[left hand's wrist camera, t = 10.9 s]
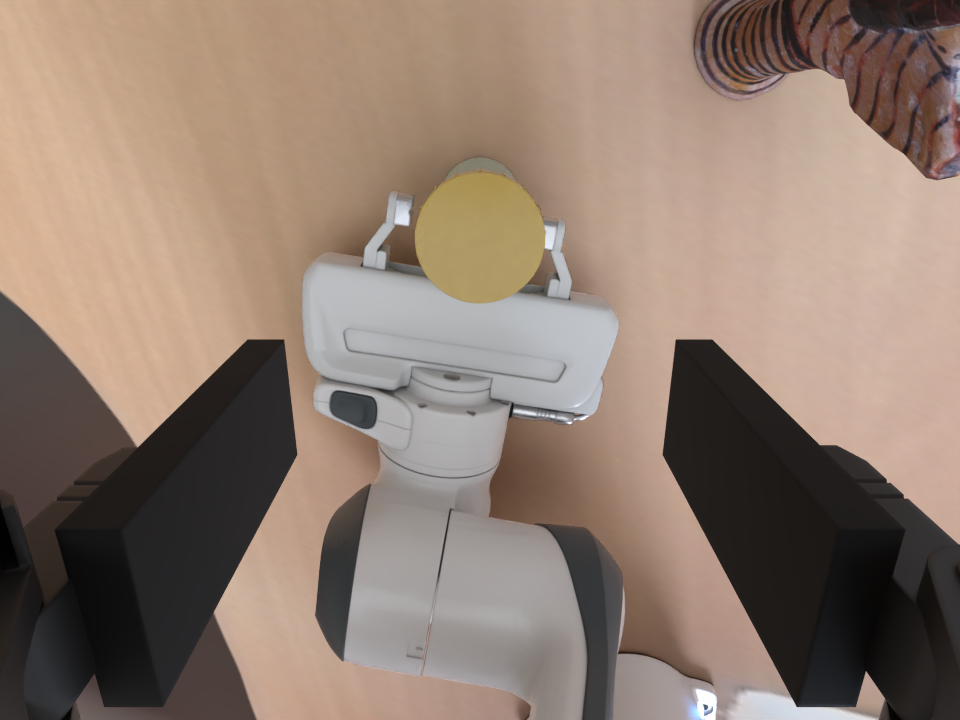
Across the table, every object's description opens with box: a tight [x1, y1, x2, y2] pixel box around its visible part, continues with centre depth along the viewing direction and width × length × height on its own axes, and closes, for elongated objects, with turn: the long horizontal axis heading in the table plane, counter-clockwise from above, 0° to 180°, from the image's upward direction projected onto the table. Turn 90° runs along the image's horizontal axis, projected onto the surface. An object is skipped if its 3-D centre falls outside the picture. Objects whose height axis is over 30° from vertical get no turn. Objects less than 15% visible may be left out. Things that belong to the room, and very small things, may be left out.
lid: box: [414, 168, 546, 303], centre depth 32 cm, size 6×6×2 cm
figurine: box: [694, 0, 960, 180], centre depth 28 cm, size 15×8×30 cm, turn 30°
